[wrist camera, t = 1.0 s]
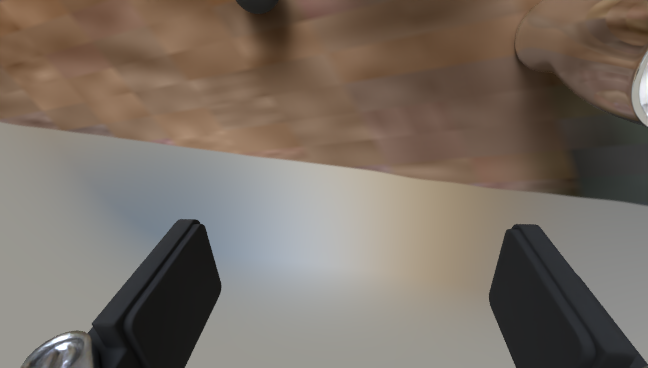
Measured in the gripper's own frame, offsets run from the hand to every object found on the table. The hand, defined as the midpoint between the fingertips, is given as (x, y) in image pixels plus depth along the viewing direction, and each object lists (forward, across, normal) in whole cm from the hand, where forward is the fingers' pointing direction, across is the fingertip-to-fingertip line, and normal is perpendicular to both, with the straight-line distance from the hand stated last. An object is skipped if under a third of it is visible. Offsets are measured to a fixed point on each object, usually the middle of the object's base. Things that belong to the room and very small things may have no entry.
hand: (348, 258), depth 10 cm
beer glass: (+24, -16, -4) cm, 30 cm away
